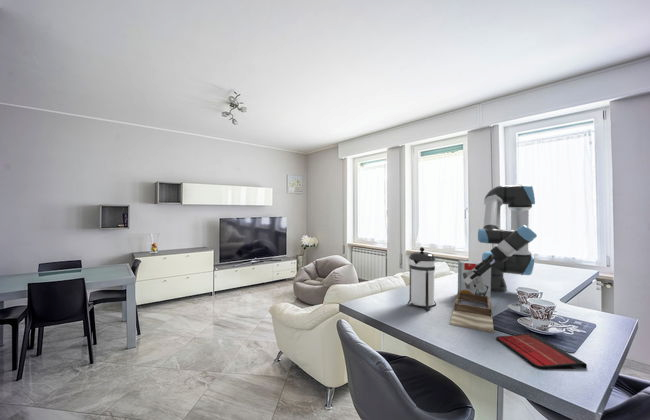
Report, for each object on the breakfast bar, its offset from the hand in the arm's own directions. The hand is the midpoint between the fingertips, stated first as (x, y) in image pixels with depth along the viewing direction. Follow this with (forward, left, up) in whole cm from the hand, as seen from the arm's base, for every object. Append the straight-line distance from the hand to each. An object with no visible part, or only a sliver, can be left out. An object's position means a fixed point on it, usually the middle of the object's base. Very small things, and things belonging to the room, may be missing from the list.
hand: (465, 279), depth 140 cm
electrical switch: (0, +3, -4) cm, 5 cm away
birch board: (+21, +3, -13) cm, 25 cm away
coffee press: (+10, -20, -14) cm, 26 cm away
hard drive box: (-18, +3, -14) cm, 23 cm away
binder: (+39, +23, -14) cm, 47 cm away
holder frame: (0, +3, -13) cm, 14 cm away
